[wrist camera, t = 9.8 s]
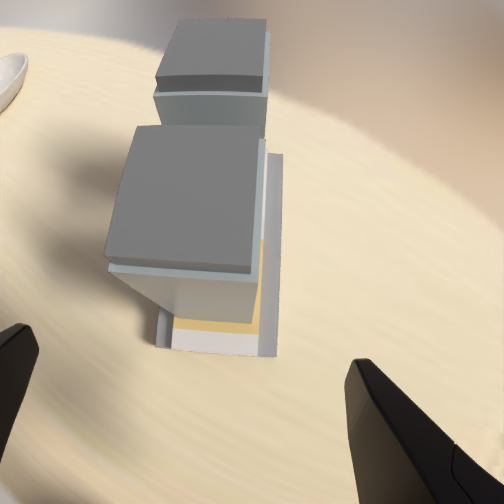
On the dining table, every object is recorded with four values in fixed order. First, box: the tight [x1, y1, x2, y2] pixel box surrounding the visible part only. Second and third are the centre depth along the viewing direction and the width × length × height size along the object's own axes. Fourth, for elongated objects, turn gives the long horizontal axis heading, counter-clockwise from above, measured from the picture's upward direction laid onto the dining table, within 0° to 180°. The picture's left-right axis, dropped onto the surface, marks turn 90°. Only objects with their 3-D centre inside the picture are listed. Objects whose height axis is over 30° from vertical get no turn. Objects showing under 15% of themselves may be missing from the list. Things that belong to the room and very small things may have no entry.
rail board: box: [156, 148, 283, 357], centre depth 20 cm, size 14×7×2 cm, turn 177°
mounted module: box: [153, 18, 270, 139], centre depth 15 cm, size 4×4×11 cm
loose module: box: [104, 125, 266, 324], centre depth 13 cm, size 4×4×11 cm
